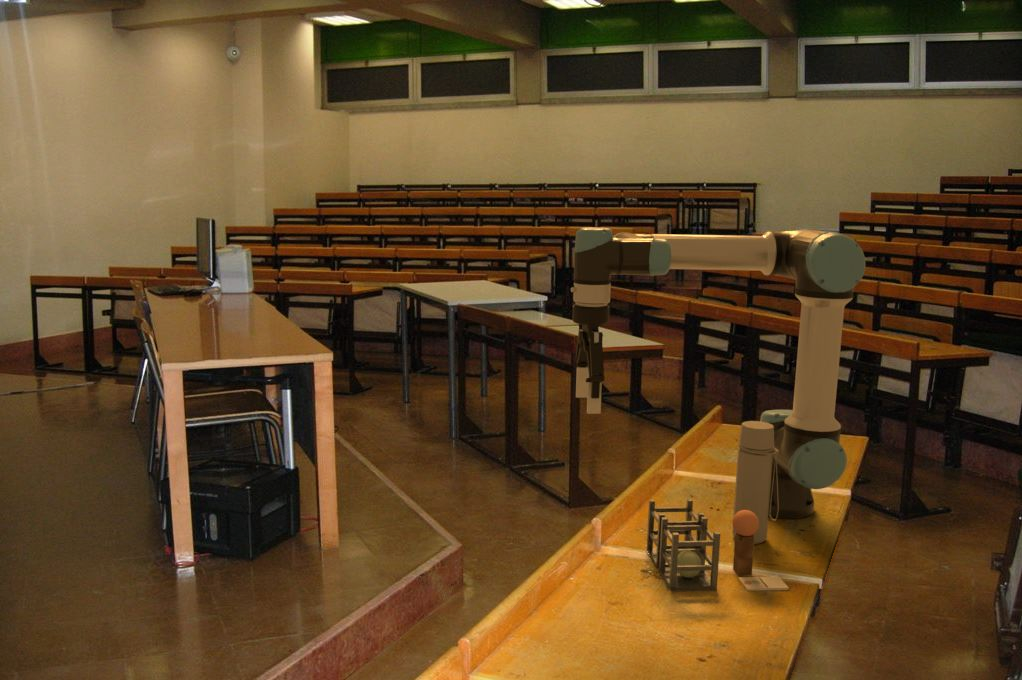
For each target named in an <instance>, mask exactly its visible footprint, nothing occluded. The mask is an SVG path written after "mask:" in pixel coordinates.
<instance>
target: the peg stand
mask: <svg viewBox="0 0 1022 680" xmlns="http://www.w3.org/2000/svg"><path fill="white" fill-rule="evenodd" d="M754 547H755V544H754V536H753V535H750V536H742V535H740V534H738V533H736V535H735V538H734V548H733V560H732V561H733V563H732V569H733V570H734V572H735V573H736V575H738V576H740V575H742V576H743V575H744V576H745V575H750V576H751V575H753V564H754V563H753V560H754V549H755V548H754Z"/></svg>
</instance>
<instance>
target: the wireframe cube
mask: <svg viewBox="0 0 1022 680" xmlns="http://www.w3.org/2000/svg"><path fill="white" fill-rule="evenodd" d="M685 505H686V506H672V507H671V506H669V507H667V506H663V507H662V506H661V507H656V500H655V499H648V511H647V512H648V515H647V534H646V550H647V551H648V553H649V555H650V556H649V555H648V556H649V557H650V560H651V561H652V563H653V564H654V565H653V566H655V567H656V569H657V570H659V556H660V537H661V519H662V517H666V514H665V513H685V520H684V521H683V520H681V521H677V520H675V521H669V520H668V526H677V525H701V517H705V514H704V513H705V512H697V513H696V512H695V511H694V509H693V508H694V507H693V506H694V500H693V499H692V498H691V499H690V498H689V499H688V498H686V504H685ZM655 521H656V523H657V529H654V527H655ZM677 532H678V534H679V536H680V535H684V538H683V539H684V540H683V541H700V530H696V536H695V535H694V534H693V532H692V530H684V531H670V533H671V534H672V533H677ZM654 544H655V547H654ZM671 546H672V544H667V547H666V549H671ZM678 549H699V546H679V547H678ZM647 551H646V552H647ZM648 553H647V554H648ZM697 555H698V556H699V554H697ZM668 556H669V557H670V559H671V554H668ZM665 567H669V565H668V564H667V562H666V565H665Z"/></svg>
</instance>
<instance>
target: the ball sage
mask: <svg viewBox="0 0 1022 680" xmlns="http://www.w3.org/2000/svg"><path fill="white" fill-rule="evenodd" d="M686 565H702V563H701V559H700V557H699V556H698V555H697V554H696V553H694V552H692V551H683V552H681V553H679V554H678V562H677V566H686ZM677 572H678V573H679V574H680V575H681V576H683V577H686V578H691V577H694V576H696V575H697V574H698V573H699V572H700V571H677Z"/></svg>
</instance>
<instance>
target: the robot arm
mask: <svg viewBox="0 0 1022 680" xmlns="http://www.w3.org/2000/svg"><path fill="white" fill-rule="evenodd" d="M573 252H574V253H573V254H574V257H573V258H574V259H573V287H571V288H570V292H571V293H573V296H572V297H573V299H572V300H573V302H575V303H574V304H573V305H572V316H571V317H572V319H571V320H572V322H573V323H574V324H578V333H577V334H578V335H577V342H576V348H575V349H576V350H575V357H574V360H575V364H576V374H575V375H576V377H575V379H576V380H575V382H576V383H575V398H579V399H580V398H586V414H588V415H589V414H590V415H591V414H596V415H597V414H602V412H601V410H602V408H601V407H602V387H603V386H602V385H603V383H602V382H604V381H605V378H606V377H605V370H604V369H605V367H604V350H603V349H604V348H603V346H604V345H603V337H604V334H603V331H601V332H600V330H599V329H600V328H599V326H600V325H603V326H604V325H607V324H608V323H609V322H610V309H611V308H610V306H609V304H610V302H611V288H612V286H611V285H612V282H611V278H612V275H614V276H620V275H621V276H623V275H624V276H625V275H626V276H650V277H654V276H665V275H667V273H669V270H703V271H704V270H708V271H709V270H712V271H714V270H715V271H755V272H756V271H757V272H758V271H760V272H761V273H762V274H763V275H764V276H777V277H784V278H788V279H792V280H795V289H794V296H795V298H797V299H798V300H799V301H800V303H801V308H800V318H799V329H798V330H799V331H798V332H799V333H798V343H797V354H796V356H797V357H796V367H795V379H794V390H793V402H792V405H793V407H792V409H771V410H770V409H769V410H765V411H763V412H761V415H760V419H759V421H760V422H766V423H769V424H772V425H773V426H774V448H776V449H777V450H779V451H778V454H777V476H776V462H775V454H773V461H772V475H771V488H770V501H771V492H772V483H773V492H772V502H771V512H770V514H771V517H772V518H776V517H777V519H787V520H788V519H802V518H807V517H810V516H811V515H813V514H814V512H815V498H814V495H813V491H812V490H821V489H826V488H829V487H831V486H832V485H834V484H835V483H836V482H837V481H839V480H840V479H841V477H842V476H843V475H844V472H845V471H846V468H847V463H848V461H847V460H848V458H847V454H846V451H845V449H844V447H843V446H842V445H841V444H840V440H841V429H842V428H841V427H842V425H841V423H840V422H839V420H837V419H836V418H835V412H836V400H837V391H838V389H837V388H838V380H839V378H838V377H839V369H840V368H839V367H840V359H841V357H840V356H841V348H842V347H841V346H842V335H843V334H842V332H843V324H844V315H845V314H844V313H845V307H846V305H848V303H849V302H852V300H853V298H854V292H855V287H856V286H857V285H858V283H859V282H861V280H862V278H863V277H864V274H865V271H866V257H865V254H864V251H863V249H862V248H861V246H860V245H859V244H858V242H857V241H855V240H854V239H853V238H851V237H850V236H847V235H845V234H844V233H840V232H836V231H829V230H820V229H816V228H806V229H805V228H804V229H795V230H784V231H783V230H782V231H766V232H764V233H763V234H762V235H727V234H726V235H722V234H721V235H720V234H672V233H671V234H668V233H667V234H666V233H664V234H663V233H662V234H661V233H651V234H650V233H649V234H648V233H632V232H625V231H624V232H619V233H616V234H615V235H613V231H612V229H611V228H609V227H580V228H579V229H578V230H577V231H576V233H575V241H574V249H573ZM775 451H776V450H775V449H774V450H772V452H773V453H775ZM774 465H775V472H774ZM773 474H774V482H773ZM777 479H778V500H779V511H778V501H777ZM769 510H770V502H769ZM777 511H778V516H777ZM768 517H770V516H769V515H768Z"/></svg>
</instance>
